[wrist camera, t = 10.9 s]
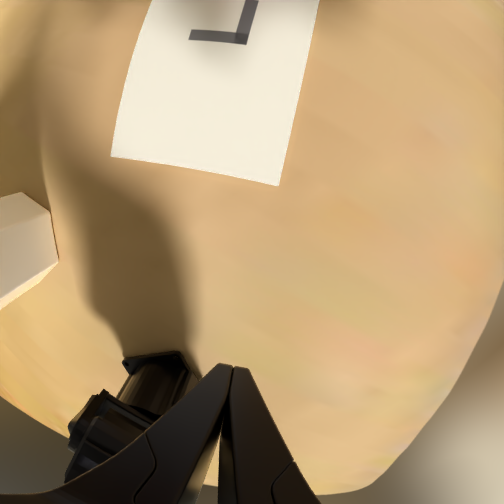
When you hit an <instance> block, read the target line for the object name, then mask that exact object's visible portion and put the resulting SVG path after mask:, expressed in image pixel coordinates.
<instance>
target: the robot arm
mask: <svg viewBox="0 0 504 504" xmlns="http://www.w3.org/2000/svg"><path fill="white" fill-rule="evenodd" d="M175 356H177V357H178V358H177V357H175ZM122 364H123V366H124V367H125V369H126V370H127V372H128V373H129V376H128V378H127V380H126V381H125V383H124V385H123V387H122V388H121V390H120V392H119V393H118V395H117V397H116V398H115V397H114V396H112V395H111V394H109V392H108V391H106V390H105V389H103V390H102V392H101V393H100V394H99V395H98V394H97V395H92V396H91V398H90V399H89V401H88V402H87V404H86V405H85V406H84V408H83V409H82V410H81V411H80V412H79V413H78V414H77V415H76V416H75V417H74V418H73V419H72V420H71V421H70V423H69V424H68V430H69V433H70V437H69V440H70V441H69V444H68V449H69V450H70V451H72V452H73V453H75V454H74V456H73V458H72V460H71V462H70V464H69V466H68V468H67V470H66V473H65V481H64V483H65V484H64V485H62V486H60V487H57V488H55V489H52V490H49V491H45V492H40V493H28V494H0V504H195V503H196V501H197V498H198V495H199V492H200V490H201V487H202V485H203V482H204V479H205V476H206V474H207V471H208V468H209V465H210V463H211V460H212V457H213V454H214V451H215V449H216V446H217V443H218V440H219V436H220V446H219V474H218V504H322V503H321V502H320V501H319V499H318V498H317V497H316V495H315V494H314V492H313V491H312V490H311V488H310V487H309V485H308V483H307V482H306V480H305V478H304V477H303V475H302V473H301V472H300V470H299V468H298V466H297V464H296V462H293V461H294V459H293V457H292V455H291V453H290V451H289V449H288V447H287V445H286V444H285V442H284V440H283V438H282V436H281V434H280V432H279V430H278V428H277V426H276V424H275V422H274V420H273V418H272V416H271V414H270V412H269V410H268V408H267V406H266V404H265V402H264V400H263V398H262V396H261V394H260V391H259V389H258V387H257V385H256V383H255V381H254V379H253V377H252V375H251V372H250V370H249V369H248V368H244V367H238V366H235V367H234V368H233V366H232V365H228V364H223V363H218V364H217V365H216V366H215V367H214V368H213V369H212V370H211V371H210V372H209V373H208V374H206V375H205V376H204V377H203V378H202V379H201V380H200V381H199V382H198V380H197V378H196V377H195V375H194V373H193V372H192V371H191V370H190V368H189V366H188V364H187V363H186V361H185V359H184V357H183V355H182V354H181V353H180V352H178V351H171V352H165V353H158V354H151V355H143V356H135V357H127V358H124V360H123V361H122ZM232 371H233V372H232ZM221 427H222V428H221ZM220 432H221V434H220Z"/></svg>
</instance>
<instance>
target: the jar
mask: <svg viewBox="0 0 504 504" xmlns="http://www.w3.org/2000/svg"><path fill="white" fill-rule="evenodd" d="M58 262H59V259H58V254H57V250H56V245H55V239H54V234H53V228H52V222H51V215H50V212H49V211H48V210H46V209H45V208H44V207H42V206H41V205H39V204H38V203H36V202H35V201H34V200H32V199H31V198H29V197H28V196H27V195H25V194H24V193H23V192H19V193H15V194H11V195H7V196H4V197H0V310H1V309H2V308H3V307H5V306H6V305H7V304H9V303H10V302H12V301H13V300H14V299H16V298H17V297H19V296H20V295H22V294H23V293H24V292H26V291H27V290H29V289H30V288H32V287H33V286H35V285H36V284H38V283H39V282H40V281H41V280H42V279H43V278H44V277H45V276H46V275H47V274H48V272H49V271H50V270H51V269H52V268H53V267H54V266H55V265H56V264H57V263H58Z"/></svg>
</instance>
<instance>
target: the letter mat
mask: <svg viewBox="0 0 504 504" xmlns="http://www.w3.org/2000/svg"><path fill="white" fill-rule="evenodd" d="M319 1H320V0H152V2H151V4H150V7H149V9H148V12H147V15H146V17H145V20H144V23H143V26H142V28H141V31H140V34H139V37H138V40H137V43H136V46H135V50H134V53H133V56H132V59H131V63H130V66H129V70H128V74H127V77H126V81H125V85H124V89H123V94H122V98H121V102H120V107H119V111H118V116H117V121H116V127H115V132H114V138H113V144H112V150H111V157H118V158H126V159H134V160H141V161H148V162H155V163H161V164H168V165H174V166H180V167H186V168H191V169H197V170H203V171H208V172H213V173H218V174H224V175H229V176H233V177H238V178H243V179H248V180H252V181H257V182H262V183H266V184H270V185H275V186H279V181H280V177H281V173H282V168H283V164H284V160H285V155H286V151H287V147H288V142H289V138H290V133H291V129H292V125H293V120H294V116H295V111H296V107H297V102H298V98H299V93H300V89H301V84H302V80H303V75H304V71H305V66H306V62H307V57H308V52H309V48H310V43H311V38H312V34H313V29H314V24H315V20H316V15H317V10H318V5H319Z"/></svg>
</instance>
